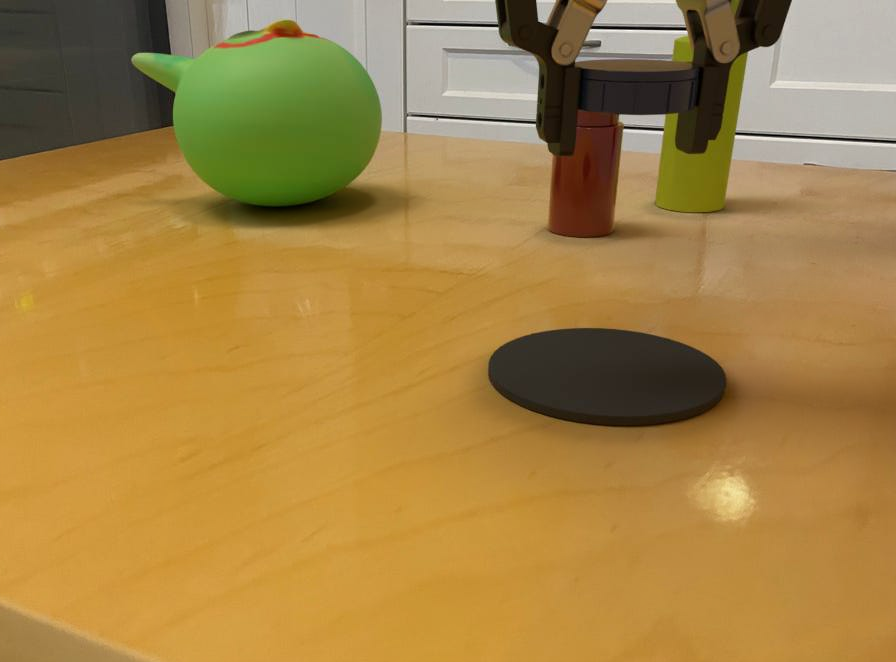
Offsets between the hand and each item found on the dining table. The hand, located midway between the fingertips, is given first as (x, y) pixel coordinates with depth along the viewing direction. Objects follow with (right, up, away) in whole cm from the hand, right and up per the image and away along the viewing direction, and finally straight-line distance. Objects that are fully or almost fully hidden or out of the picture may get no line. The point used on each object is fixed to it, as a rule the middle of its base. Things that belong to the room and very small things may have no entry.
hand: (626, 151), depth 43 cm
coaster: (0, -10, +5) cm, 11 cm away
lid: (0, +3, -2) cm, 3 cm away
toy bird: (-22, +10, +41) cm, 47 cm away
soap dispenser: (+15, +10, +40) cm, 43 cm away
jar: (+4, +5, +32) cm, 33 cm away
